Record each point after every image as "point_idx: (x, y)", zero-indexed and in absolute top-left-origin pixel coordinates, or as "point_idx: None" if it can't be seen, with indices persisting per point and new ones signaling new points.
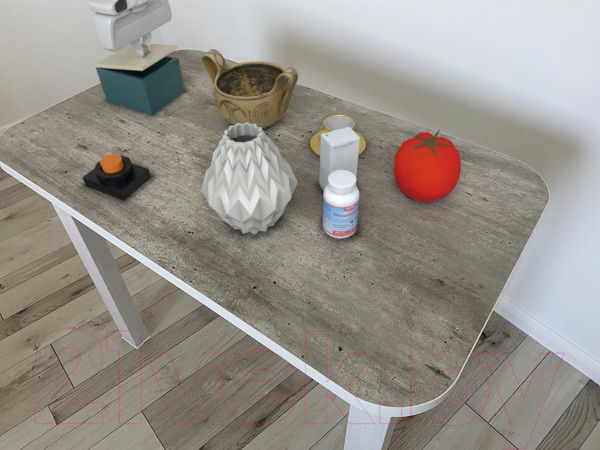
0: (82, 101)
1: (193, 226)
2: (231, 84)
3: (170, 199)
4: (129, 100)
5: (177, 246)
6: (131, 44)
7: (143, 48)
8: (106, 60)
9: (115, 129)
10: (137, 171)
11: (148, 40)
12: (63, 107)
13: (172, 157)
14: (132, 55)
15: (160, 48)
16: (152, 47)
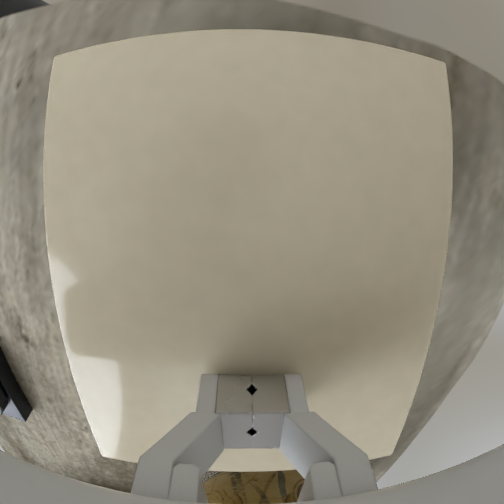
0: (105, 17)
1: (41, 463)
2: (297, 493)
3: (37, 439)
4: None
5: (20, 455)
6: (153, 448)
7: (227, 448)
8: (107, 96)
9: (45, 259)
10: (10, 410)
11: (302, 476)
12: (57, 8)
13: (81, 419)
14: (228, 280)
15: (360, 409)
16: (384, 340)
